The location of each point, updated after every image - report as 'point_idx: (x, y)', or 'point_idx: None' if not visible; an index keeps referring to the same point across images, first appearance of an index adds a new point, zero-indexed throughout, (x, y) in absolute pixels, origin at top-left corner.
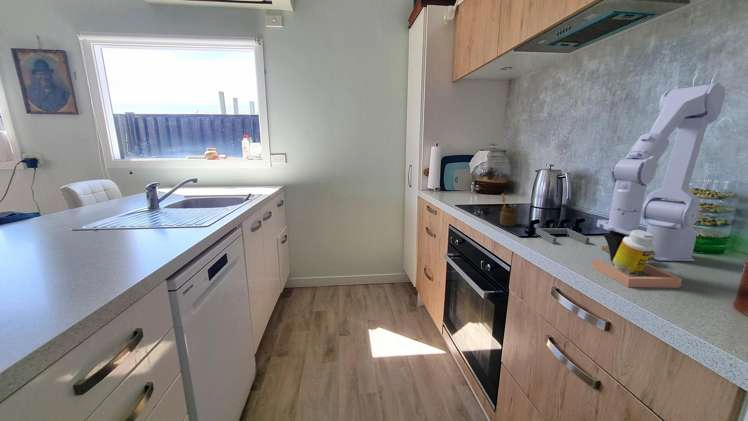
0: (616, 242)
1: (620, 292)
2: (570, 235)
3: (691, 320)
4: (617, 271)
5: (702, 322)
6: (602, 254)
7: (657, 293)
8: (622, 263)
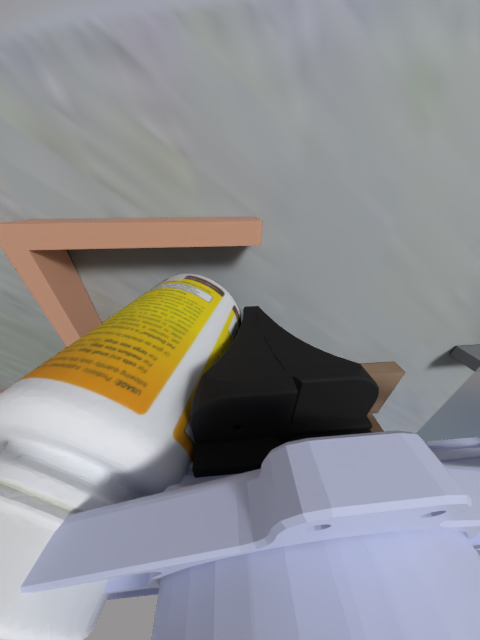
0: (213, 366)
1: None
2: None
3: None
4: (85, 231)
5: None
6: (362, 340)
7: (23, 296)
8: (142, 295)
